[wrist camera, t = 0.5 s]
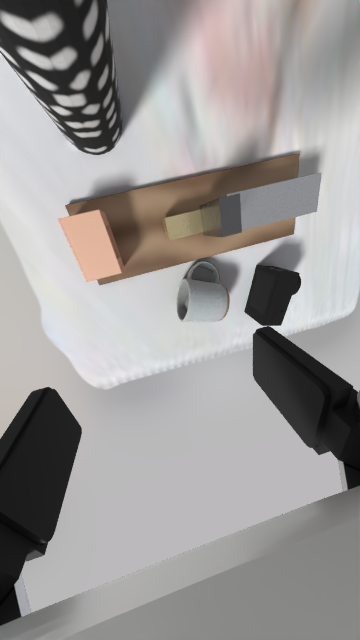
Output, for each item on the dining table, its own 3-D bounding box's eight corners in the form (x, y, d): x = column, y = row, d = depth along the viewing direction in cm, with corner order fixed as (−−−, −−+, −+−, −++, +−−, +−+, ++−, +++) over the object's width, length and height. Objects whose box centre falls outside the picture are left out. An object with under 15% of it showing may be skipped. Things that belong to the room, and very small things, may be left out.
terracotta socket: (71, 220, 27) (57, 218, 23) (105, 213, 28) (98, 209, 23) (94, 273, 31) (86, 282, 26) (124, 266, 32) (121, 273, 27)
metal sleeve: (213, 199, 30) (226, 194, 26) (295, 180, 31) (321, 172, 27) (217, 233, 32) (229, 233, 28) (293, 213, 34) (316, 211, 29)
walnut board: (67, 206, 27) (65, 205, 26) (294, 155, 31) (299, 153, 30) (100, 283, 33) (99, 285, 32) (289, 234, 36) (293, 234, 35)
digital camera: (265, 312, 43) (286, 326, 37) (244, 312, 42) (262, 326, 36) (279, 266, 39) (306, 273, 33) (256, 264, 38) (279, 271, 31)
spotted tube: (70, 41, 21) (-260, -904, 4) (134, 111, 25) (128, -190, 7) (39, 115, 23) (-280, -258, 5) (102, 170, 26) (33, 52, 9)
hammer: (161, 215, 29) (172, 209, 20) (290, 184, 31) (353, 166, 22) (167, 242, 30) (180, 248, 22) (289, 212, 32) (346, 205, 24)
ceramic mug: (211, 313, 40) (226, 329, 33) (174, 311, 38) (183, 328, 31) (222, 263, 36) (242, 269, 29) (181, 258, 34) (193, 264, 27)
